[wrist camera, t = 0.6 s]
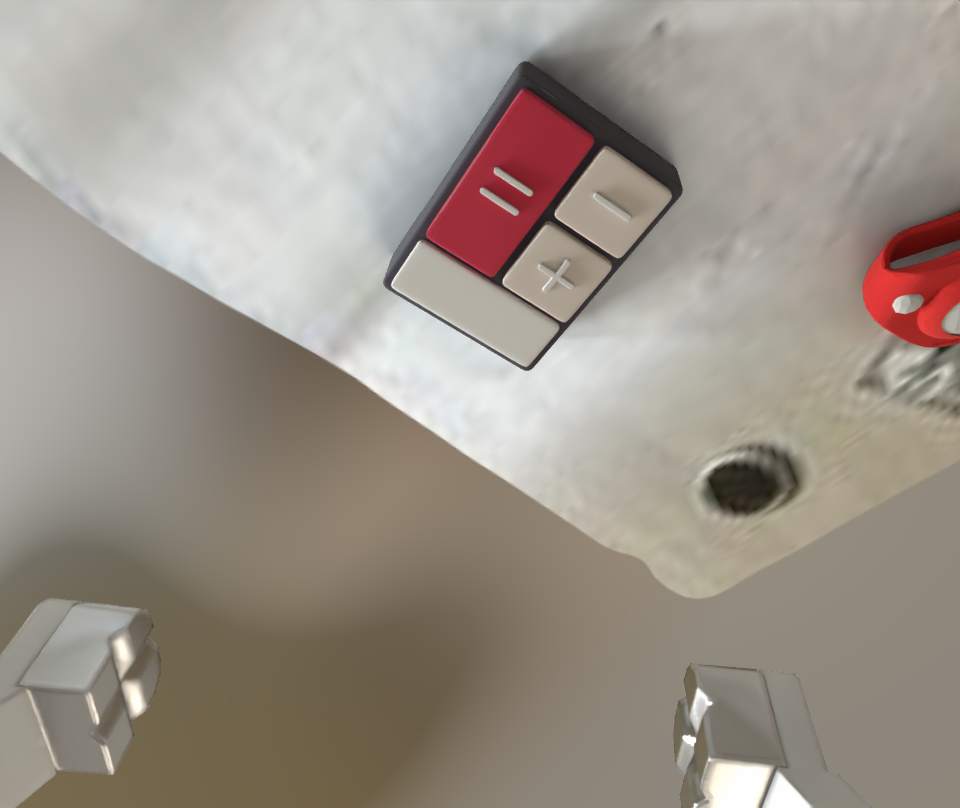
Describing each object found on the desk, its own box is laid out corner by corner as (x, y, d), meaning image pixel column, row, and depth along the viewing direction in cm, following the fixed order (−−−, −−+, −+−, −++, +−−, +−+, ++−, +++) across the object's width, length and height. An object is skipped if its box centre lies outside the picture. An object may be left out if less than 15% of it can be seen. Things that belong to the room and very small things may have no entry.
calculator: (688, 195, 44) (528, 381, 52) (679, 166, 48) (530, 345, 56) (520, 75, 41) (377, 291, 49) (523, 54, 45) (389, 259, 53)
